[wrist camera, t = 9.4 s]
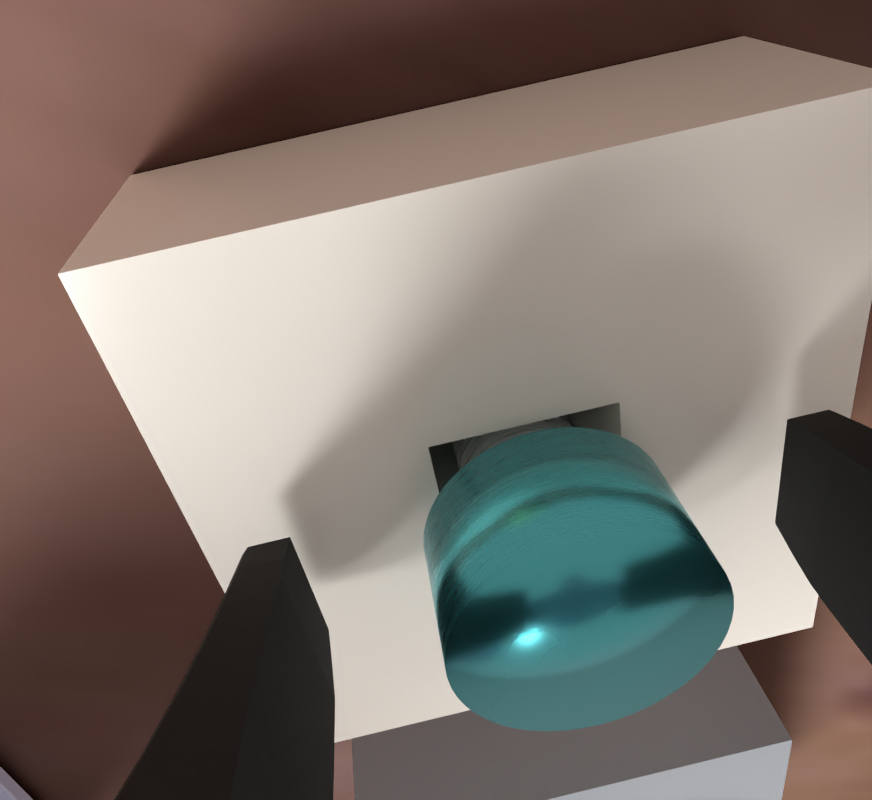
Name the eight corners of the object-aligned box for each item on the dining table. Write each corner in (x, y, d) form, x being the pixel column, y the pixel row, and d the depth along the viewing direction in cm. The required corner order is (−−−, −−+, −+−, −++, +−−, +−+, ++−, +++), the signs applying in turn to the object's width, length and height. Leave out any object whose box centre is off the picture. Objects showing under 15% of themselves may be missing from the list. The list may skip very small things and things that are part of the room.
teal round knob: (415, 470, 15) (469, 756, 10) (376, 318, 13) (418, 578, 8) (585, 430, 15) (727, 693, 10) (571, 272, 13) (743, 500, 8)
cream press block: (307, 592, 17) (306, 749, 14) (130, 175, 11) (57, 273, 8) (718, 495, 17) (812, 627, 14) (743, 35, 12) (911, 78, 8)
